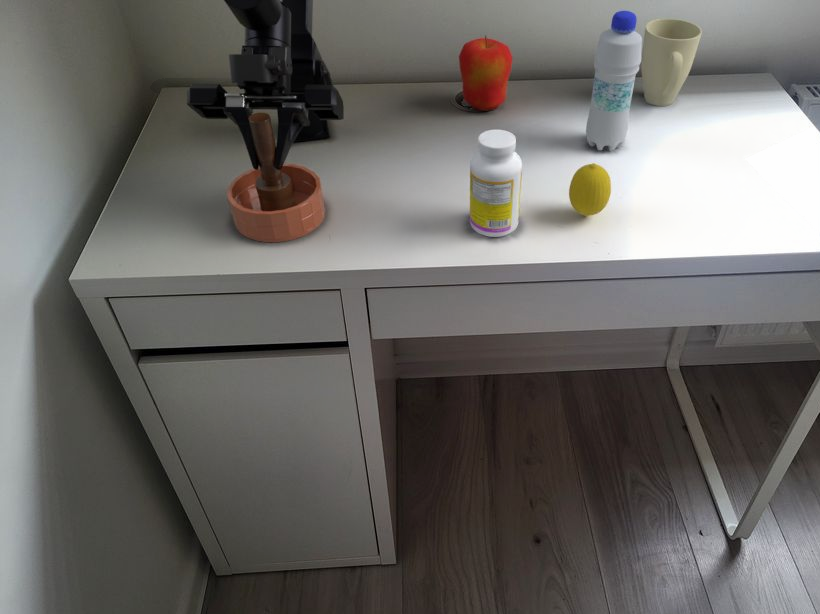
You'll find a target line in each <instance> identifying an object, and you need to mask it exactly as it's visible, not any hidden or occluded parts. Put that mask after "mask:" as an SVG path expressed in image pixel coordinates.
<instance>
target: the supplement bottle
mask: <svg viewBox="0 0 820 614" xmlns="http://www.w3.org/2000/svg"><path fill="white" fill-rule="evenodd" d="M516 140H517V139H516V136H515V135H514V134H513V133H512V132H510V131H508V130H504V129H489V130H485V131H483V132H481V133H480V134H479V135H478V137H477V149H478V151H477V152H476V153H474V154H473V155H472V157H471V160H470V162H469V223H470V226H471V228H472V229H473V231H475V232H476V233H477V234H480V235H482V236H486V237H491V238H499V237H500V238H501V237H505V236H507V235H510V234H511V233H513V232H514V231H515V230H516V229H517V228H518V226H519V221H520V208H521V207H520V206H521V191H522V174H523V160H522V158H521V156H520V155H519V154H518V153H517V152H516V151H515V150H516V147H517V146H516V145H517V141H516Z"/></svg>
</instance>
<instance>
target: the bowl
mask: <svg viewBox="0 0 820 614" xmlns="http://www.w3.org/2000/svg"><path fill="white" fill-rule="evenodd" d="M281 173H285V174H287V175H288V176H289V177H290V179H291V184H292V190H293V195H294V200H295V206H294V207H291V208H288V209H284V210H278V211H262V210H261V207H260V202H259V198H258V194H257V190H256V185H255V182H256V180H257V178H258V177H260V176H261V172H260V168H258V170H255V169H254V168H250V169H249V170H247V171H245V172H243V173H241V174H239V175H237V177H235V179H233V180H232V181H231V182H230V184H229V186H228V188H227V189H226V197H227V201H228V206H229V209H230V213H231V216H232V219H233V224H234V226H235V228H236V229H237V231H238V232H239V233H240V234H241V235H242V236H244V237H245V238H248V239H250V240H253V241H257V242H262V243H283V242H289V241H294V240H297V239H298V238H302V237H305V236H306V235H309V234H310V233H312V232H313V231H314V230H316V229H317V228H318V227H319V226H320V225H321V224H322V223H323V221H324V219H325V215H326V207H325V202H324V194H323V189H322V182H321V178H320V177H319V176H318V175H317V174H316V173H315V171H313V170H311V169H309V168H308V167H305V166H302V165H298V164H294V163H293V164H292V163H284V164H283V166H282V169H281Z"/></svg>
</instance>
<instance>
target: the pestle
mask: <svg viewBox="0 0 820 614" xmlns="http://www.w3.org/2000/svg"><path fill="white" fill-rule="evenodd" d="M249 124H250V128H251V132H252V137H253V141H254V146H255V150H256V155H257V159H258V163H259V168H260V172H261V176H260V177H258V178H257V180H256V182H255V185H256V190H257V194H258V198H259V202H260V207H261V210H262V211H278V210H284V209H288V208H291V207H294V206H295V200H294V195H293V190H292V184H291V179H290V177H289V176H288V175H287V174H285V173H281V170H278V169H277V168H276V145H277V143H276V140H275V134H274V130H273V125H272V120H271V115H270V114H268V113H267V112H254V113H252V115H251V116H249Z"/></svg>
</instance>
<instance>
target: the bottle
mask: <svg viewBox="0 0 820 614" xmlns="http://www.w3.org/2000/svg"><path fill="white" fill-rule="evenodd" d="M636 27H637V16H636V14H635V13H634V12H632V11H631V10H630V11H629V10H619V11H617V12H615V13H613V16H612V18H611V24H610V28H608V29H606V30H604V31H602V32H601V34H600V35H599V39H598V41H597V47H596V49H595V53H594V55H593V56H594V63H593V68H594V78H593V85H592V91H591V92H592V93H591V100H590V107H589V111H588V116H587V121H586V128H585V133H586V134H585V135H586V141H587V144H588V145H589V146H590V147H595V146H596V149H597V150H598V151H603V150H604V147H605V146H608V151H610V152H611V151H614V150H615V149H616V148H620V147H621V146H623V144H624V142H625V140H626V137H627V133H628V127H629V118H630V109H631V104H632V98H633V94H634V93H633V92H634V87H635V82H636V81H635V80H636V77H637V76H636V75H637V74H638V72H639V71H640V66H641V65H640V64H641V61H642V51H643V37H642V36H641V34H640V33H639V32H637V31H636Z"/></svg>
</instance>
